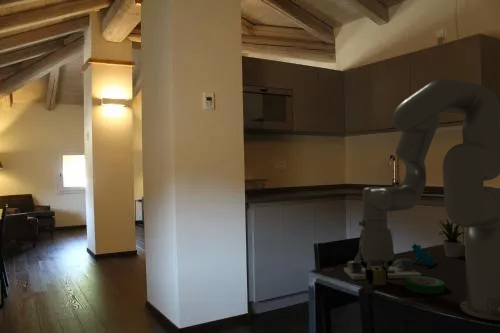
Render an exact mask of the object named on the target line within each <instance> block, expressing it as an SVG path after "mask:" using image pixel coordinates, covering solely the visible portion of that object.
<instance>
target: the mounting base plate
mask: <svg viewBox="0 0 500 333" xmlns="http://www.w3.org/2000/svg"><path fill="white" fill-rule="evenodd" d="M376 266H377V265H371V267H376ZM378 266H379V267H381V268H382V265H378ZM343 271H344V273H346V274H347V275H348V276H349V277H350V278H351V279H352V280H354V281H356V280H367V279H366V273H365V268H362V273H352V272H351V271H350V270H349V269H348V267H343ZM387 271H388V279H387V280H389V279H406V278H407V277H412V276H422V273H421V272H418V271H416V270H415V269H413V268H412V270H409V271H404V270H401V269H398V268H397V267H393V266H392V265H391V266H390V267H389V269H388V270H387Z"/></svg>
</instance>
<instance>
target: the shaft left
mask: <svg viewBox="0 0 500 333" xmlns="http://www.w3.org/2000/svg"><path fill="white" fill-rule="evenodd" d="M363 261H364V262H365V260H363ZM346 266H347V268H348V269H349V270H350V271H351V272H352V273H362V268H364V267H363V266H362V265H361V264H360V263H358V262H357V261H355V260H354V259H353V260H351V259H350V260H349V261H347V262H346Z"/></svg>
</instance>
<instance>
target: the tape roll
mask: <svg viewBox="0 0 500 333" xmlns="http://www.w3.org/2000/svg"><path fill="white" fill-rule="evenodd" d="M404 287H405V289H406V290H409V291H410V292H414V293H417V294H427V295H430V294H431V295H432V294H436V295H437V294H442V293H444V292H445V291H446V290H445V282H444V281H443V280H441V279H440V278H439V279H438V278H437V277H436V278H435V277H431V276H422V275H421V276H412V277H407V278H404Z"/></svg>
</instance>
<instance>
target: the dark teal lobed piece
mask: <svg viewBox="0 0 500 333" xmlns="http://www.w3.org/2000/svg"><path fill="white" fill-rule="evenodd" d="M411 248H412V252H413V253H414V254H415V256H416V258H415V259H414V260H412V262H413V264H414V265H416V264H417V263H418V262H419V261H420V263H424V262H425V263H424V264H425V265H426V266H430V267H433V266H434V265H435V262H434V258H433V257H431V252H429V251H428V252H426V250H427V249H425V248H422V246H421V245H419V244H416V243H413V245H412V246H411ZM421 248H422V249H421Z"/></svg>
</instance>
